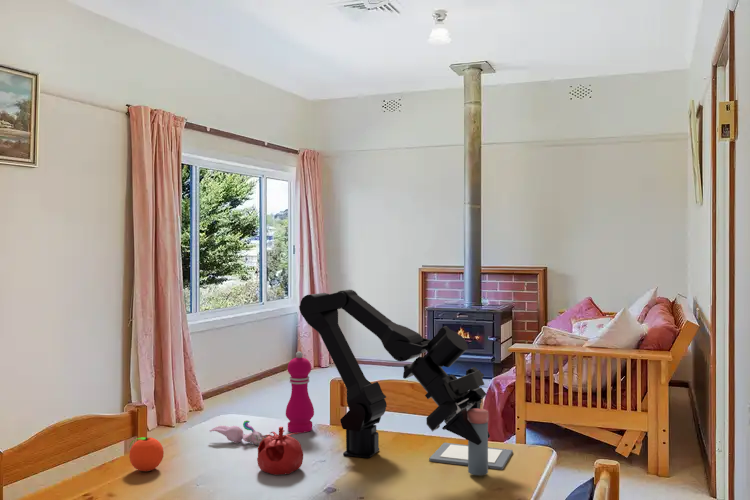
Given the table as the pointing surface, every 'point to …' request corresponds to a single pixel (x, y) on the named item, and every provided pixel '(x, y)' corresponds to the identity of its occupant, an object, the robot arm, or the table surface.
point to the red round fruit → (279, 454)
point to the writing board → (460, 455)
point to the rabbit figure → (240, 433)
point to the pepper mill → (299, 396)
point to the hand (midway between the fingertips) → (484, 440)
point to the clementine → (146, 454)
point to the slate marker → (479, 452)
